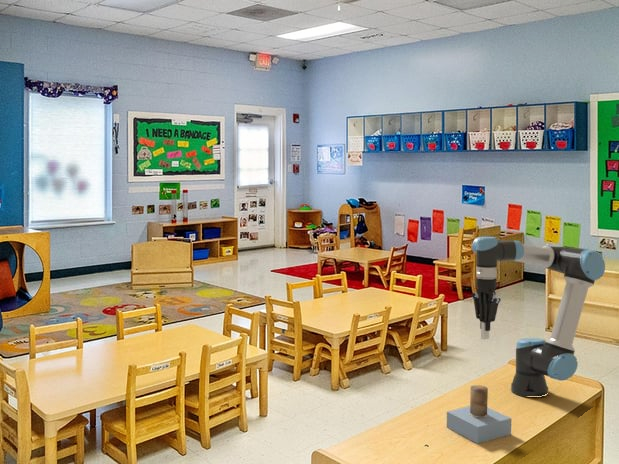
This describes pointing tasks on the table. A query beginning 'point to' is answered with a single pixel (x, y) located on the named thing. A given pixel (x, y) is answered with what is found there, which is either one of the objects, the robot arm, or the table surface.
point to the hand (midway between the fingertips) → (485, 338)
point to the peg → (478, 401)
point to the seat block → (479, 425)
